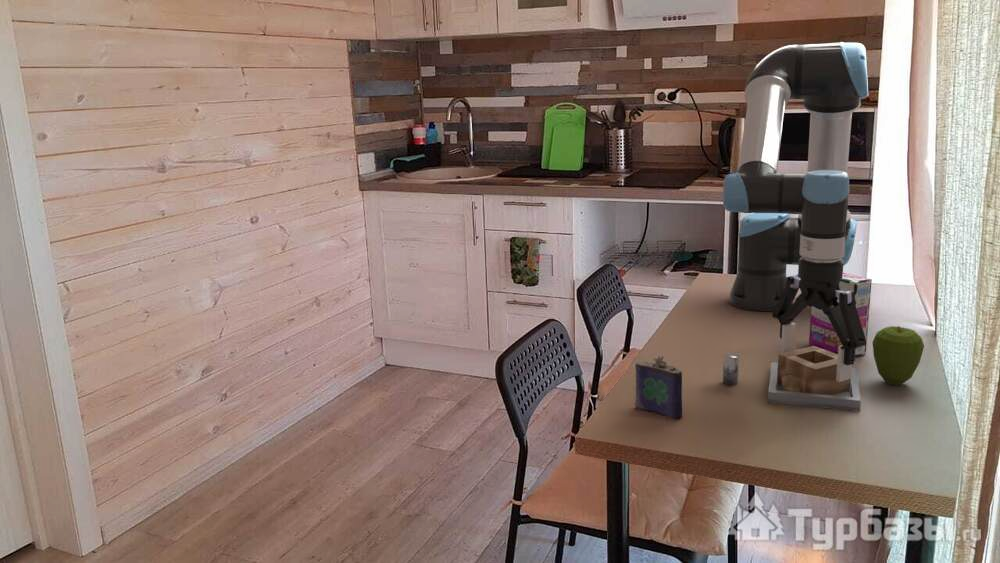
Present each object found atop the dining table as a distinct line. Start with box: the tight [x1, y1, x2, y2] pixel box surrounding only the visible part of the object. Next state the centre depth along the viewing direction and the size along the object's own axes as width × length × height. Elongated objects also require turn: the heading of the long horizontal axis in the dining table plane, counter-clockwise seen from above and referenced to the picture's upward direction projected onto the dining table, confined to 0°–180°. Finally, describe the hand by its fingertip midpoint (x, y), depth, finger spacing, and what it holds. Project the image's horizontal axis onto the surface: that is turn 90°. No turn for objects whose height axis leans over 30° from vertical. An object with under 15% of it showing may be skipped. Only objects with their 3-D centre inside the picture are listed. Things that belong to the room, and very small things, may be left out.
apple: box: [872, 325, 925, 386], centre depth 149 cm, size 9×8×12 cm
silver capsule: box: [722, 353, 740, 386], centre depth 154 cm, size 3×3×6 cm
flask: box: [635, 355, 683, 421], centre depth 142 cm, size 9×3×11 cm, turn 48°
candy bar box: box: [808, 272, 873, 358], centre depth 167 cm, size 11×5×16 cm, turn 27°
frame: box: [777, 345, 853, 395], centre depth 148 cm, size 9×11×6 cm
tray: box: [767, 361, 862, 412], centre depth 149 cm, size 15×15×2 cm
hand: (814, 367), depth 149 cm, fingers open, 13 cm apart
